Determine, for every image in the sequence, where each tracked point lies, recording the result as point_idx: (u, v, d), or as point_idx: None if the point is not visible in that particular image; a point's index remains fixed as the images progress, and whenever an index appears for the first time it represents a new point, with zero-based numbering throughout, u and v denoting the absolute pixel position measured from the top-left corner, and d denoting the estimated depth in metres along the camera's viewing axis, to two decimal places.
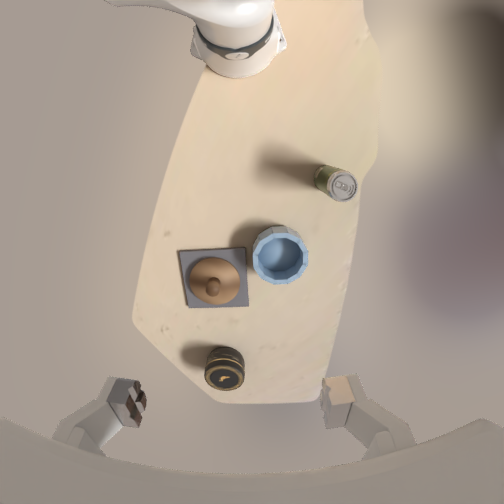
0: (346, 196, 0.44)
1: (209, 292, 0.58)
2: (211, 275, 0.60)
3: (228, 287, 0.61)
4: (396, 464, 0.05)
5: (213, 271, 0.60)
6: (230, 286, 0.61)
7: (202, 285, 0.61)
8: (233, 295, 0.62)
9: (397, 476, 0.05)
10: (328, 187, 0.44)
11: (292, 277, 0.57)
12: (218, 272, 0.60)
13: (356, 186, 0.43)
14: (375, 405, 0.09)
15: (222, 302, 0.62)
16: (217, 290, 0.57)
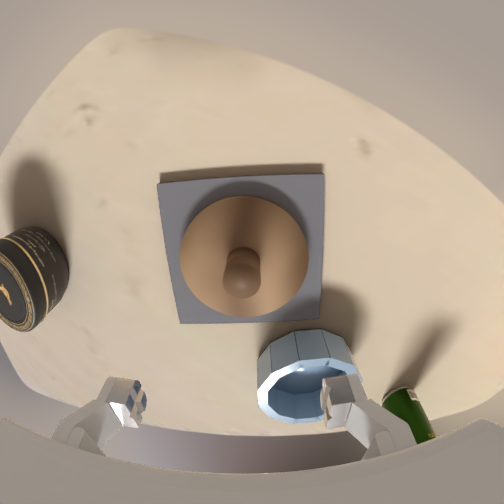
0: None
1: (236, 274, 0.20)
2: (265, 256, 0.24)
3: None
4: (396, 464, 0.05)
5: (275, 262, 0.24)
6: (233, 299, 0.25)
7: (234, 232, 0.23)
8: (210, 303, 0.25)
9: (397, 476, 0.05)
10: None
11: (271, 410, 0.27)
12: (272, 273, 0.24)
13: None
14: (376, 405, 0.09)
15: (188, 278, 0.25)
16: (243, 294, 0.21)
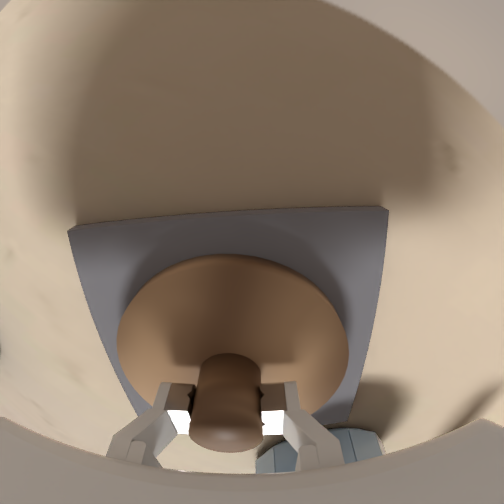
0: None
1: (213, 428, 0.09)
2: (270, 365, 0.12)
3: None
4: (396, 464, 0.05)
5: (289, 373, 0.12)
6: None
7: (210, 330, 0.11)
8: None
9: (397, 476, 0.05)
10: None
11: None
12: None
13: None
14: (309, 416, 0.09)
15: (139, 388, 0.13)
16: (229, 448, 0.09)
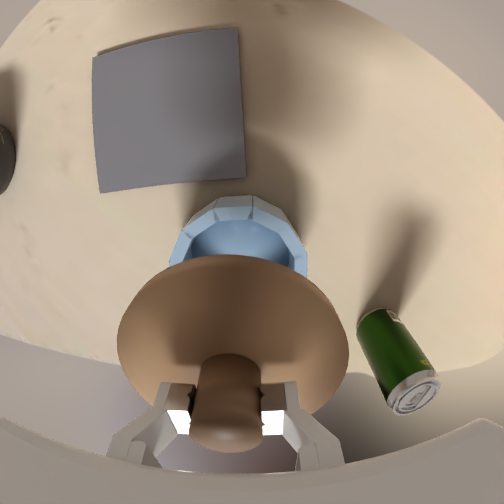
0: (401, 405, 0.19)
1: (213, 428, 0.09)
2: (269, 365, 0.12)
3: None
4: (396, 464, 0.05)
5: (289, 373, 0.12)
6: None
7: (210, 330, 0.11)
8: None
9: (397, 476, 0.05)
10: (421, 374, 0.19)
11: None
12: None
13: (410, 411, 0.20)
14: (309, 416, 0.09)
15: (139, 388, 0.13)
16: (229, 448, 0.09)
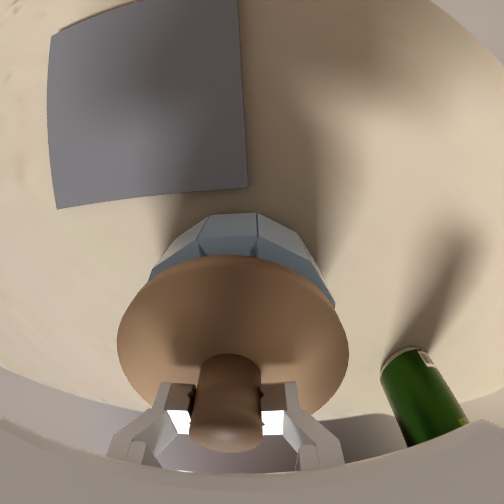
0: None
1: (213, 428, 0.09)
2: (269, 366, 0.12)
3: None
4: (396, 464, 0.05)
5: (289, 373, 0.12)
6: None
7: (210, 330, 0.11)
8: None
9: (397, 476, 0.05)
10: None
11: None
12: None
13: None
14: (309, 416, 0.09)
15: (139, 388, 0.13)
16: (229, 448, 0.09)
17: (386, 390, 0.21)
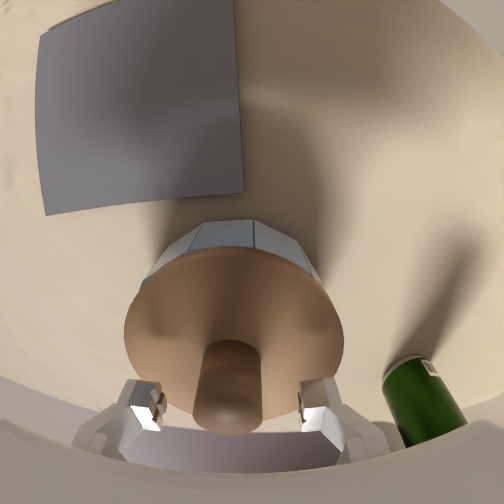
0: None
1: (215, 409, 0.10)
2: (269, 352, 0.13)
3: None
4: (396, 464, 0.05)
5: (287, 360, 0.13)
6: None
7: (213, 317, 0.12)
8: (183, 406, 0.15)
9: (397, 476, 0.05)
10: None
11: None
12: (281, 374, 0.13)
13: None
14: (350, 410, 0.09)
15: (144, 376, 0.14)
16: (231, 430, 0.10)
17: (388, 400, 0.20)
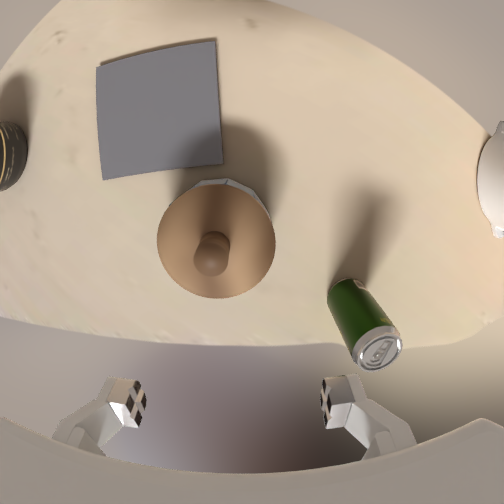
0: (365, 359, 0.24)
1: (205, 253, 0.22)
2: (234, 239, 0.26)
3: (205, 276, 0.27)
4: (396, 464, 0.05)
5: (244, 244, 0.26)
6: (207, 280, 0.27)
7: (205, 217, 0.25)
8: (186, 285, 0.27)
9: (397, 476, 0.05)
10: (381, 329, 0.24)
11: None
12: (242, 255, 0.26)
13: (376, 368, 0.25)
14: (376, 405, 0.09)
15: (165, 262, 0.26)
16: (212, 272, 0.23)
17: (330, 309, 0.33)
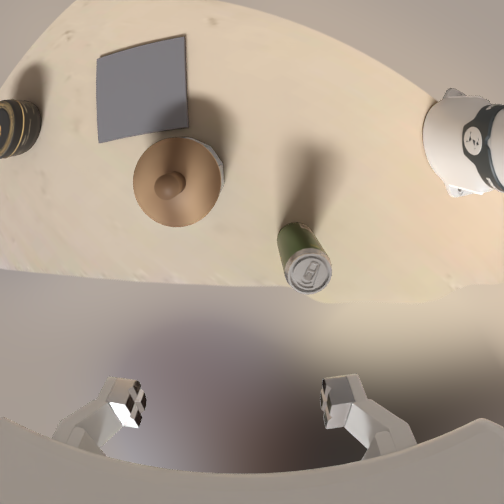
0: (295, 279, 0.30)
1: (162, 182, 0.29)
2: (188, 177, 0.32)
3: (167, 207, 0.33)
4: (396, 464, 0.05)
5: (196, 181, 0.32)
6: (169, 211, 0.34)
7: (168, 161, 0.31)
8: (153, 216, 0.34)
9: (397, 476, 0.05)
10: (308, 250, 0.30)
11: None
12: (195, 190, 0.33)
13: (310, 291, 0.31)
14: (375, 405, 0.09)
15: (138, 197, 0.33)
16: (167, 196, 0.29)
17: (278, 247, 0.39)
